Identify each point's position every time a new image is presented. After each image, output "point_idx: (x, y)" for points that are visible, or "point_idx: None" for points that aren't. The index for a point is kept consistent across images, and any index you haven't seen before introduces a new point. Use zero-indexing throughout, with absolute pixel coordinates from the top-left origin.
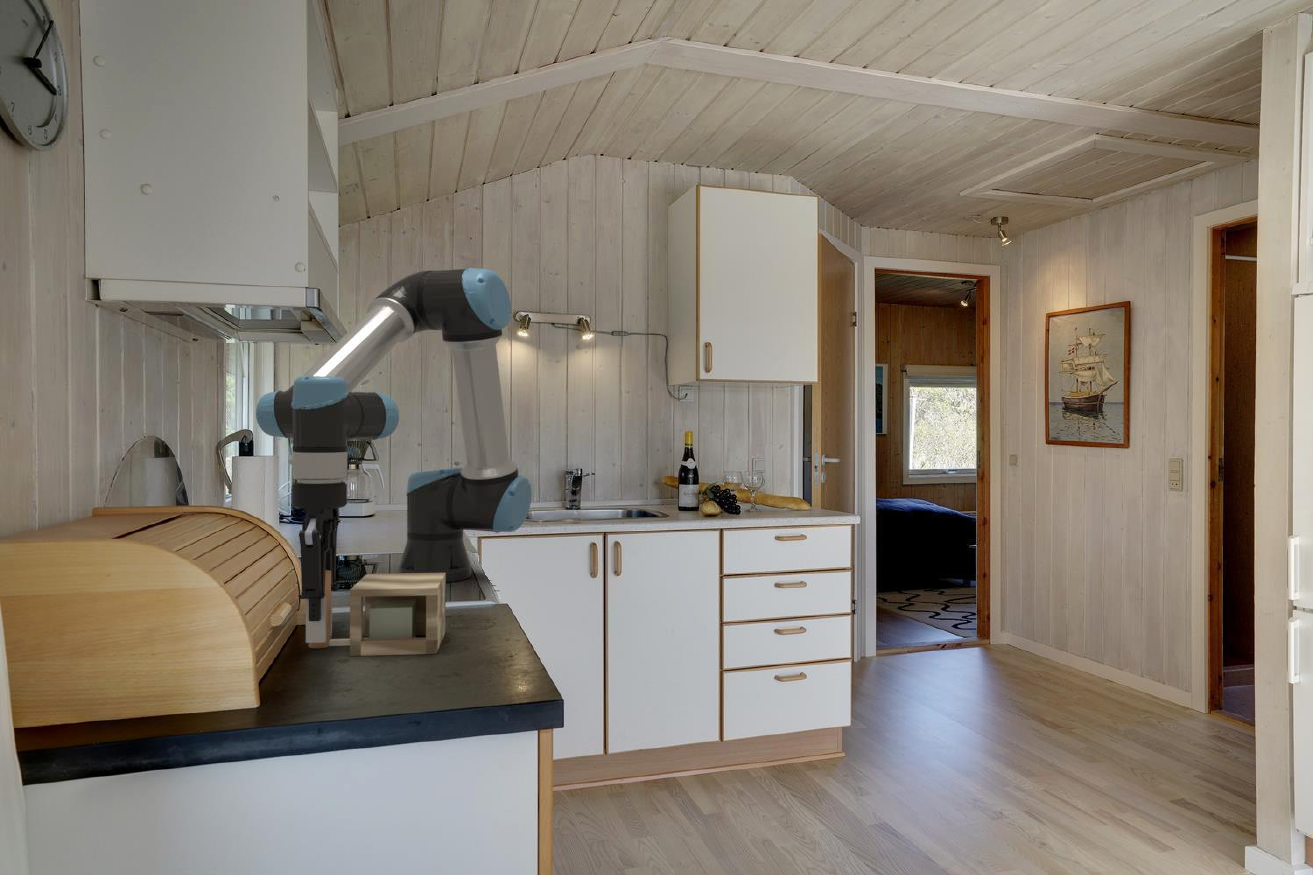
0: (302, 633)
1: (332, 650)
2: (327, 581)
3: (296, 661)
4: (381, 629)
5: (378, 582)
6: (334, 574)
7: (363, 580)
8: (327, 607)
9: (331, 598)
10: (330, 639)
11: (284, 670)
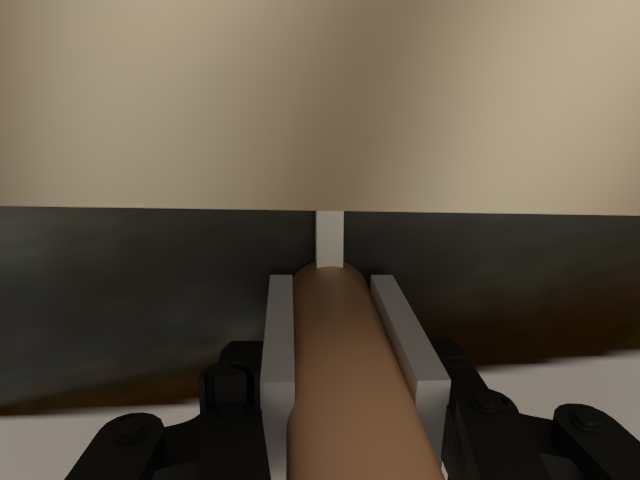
0: (110, 404)
1: (384, 236)
2: (417, 450)
3: (509, 327)
4: None
5: (479, 4)
6: (122, 467)
7: (350, 177)
8: (378, 344)
9: (280, 361)
10: (329, 266)
11: (608, 337)
